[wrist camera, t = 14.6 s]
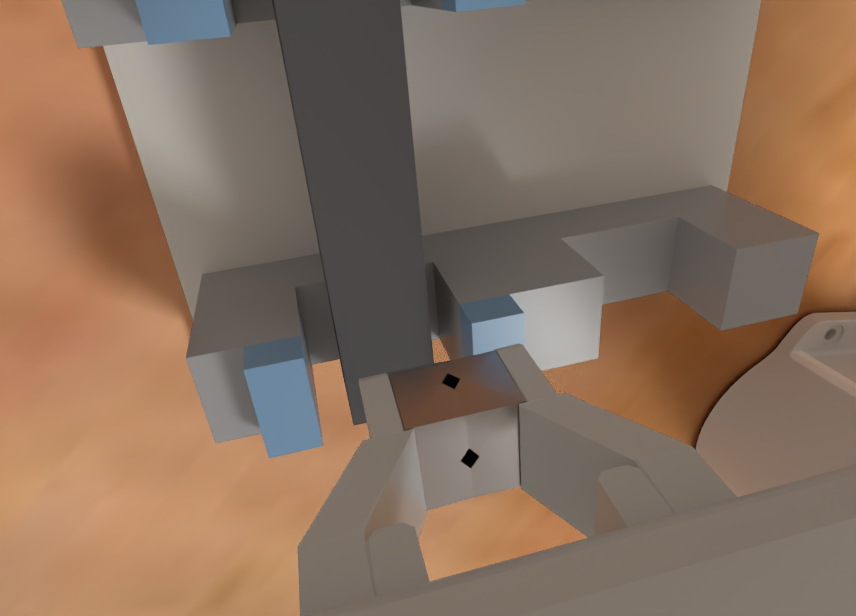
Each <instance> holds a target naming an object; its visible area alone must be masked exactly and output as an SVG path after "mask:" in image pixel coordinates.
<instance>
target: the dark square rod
mask: <svg viewBox="0 0 856 616" xmlns="http://www.w3.org/2000/svg"><path fill="white" fill-rule="evenodd" d="M272 4H273V9H274V14H275V19H276V25H277V30H278V35H279V40H280V46H281V51H282V56H283V62H284V67H285V72H286V77H287V83H288V88H289V93H290V98H291V104H292V109H293V114H294V119H295V125H296V130H297V135H298V141H299V146H300V151H301V156H302V162H303V167H304V172H305V177H306V183H307V188H308V193H309V198H310V204H311V209H312V214H313V220H314V225H315V230H316V235H317V241H318V246H319V251H320V256H321V262H322V267H323V272H324V277H325V283H326V288H327V293H328V299H329V304H330V309H331V314H332V320H333V325H334V330H335V335H336V341H337V346H338V351H339V356H340V362H341V367H342V372H343V377H344V382H345V387H346V391H347V396H348V401H349V405H350V410H351V415H352V419H353V424H354V425H358V424H362V423H367V421H366V416H365V411H364V406H363V401H362V396H361V391H360V386H359V379H360V378H365V377H370V376H374V375H379V374H383V373H386V374H387V373H388V372H393V371H398V370H403V369H408V368H413V367H418V366H423V365H428V364H434V360H433V349H432V338H431V328H430V317H429V306H428V295H427V285H426V274H425V263H424V252H423V242H422V231H421V220H420V210H419V199H418V188H417V177H416V167H415V156H414V145H413V134H412V124H411V113H410V102H409V91H408V81H407V70H406V59H405V49H404V38H403V27H402V16H401V6H400V0H272ZM387 375H388V374H387Z"/></svg>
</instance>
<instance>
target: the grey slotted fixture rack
mask: <svg viewBox="0 0 856 616" xmlns="http://www.w3.org/2000/svg"><path fill="white" fill-rule="evenodd" d="M61 1H62V4H63V6H64V9H65V12H66V15H67V18H68V21H69V24H70V27H71V29H72V32H73V35H74V38H75V41H76V44H77V47H78V49H79V48H88V47H98V46H103V48H104V51H105V54H106V57H107V60H108V63H109V66H110V69H111V72H112V75H113V78H114V81H115V84H116V87H117V90H118V93H119V96H120V99H121V102H122V106H123V109H124V112H125V115H126V118H127V121H128V124H129V127H130V130H131V133H132V136H133V139H134V142H135V145H136V148H137V151H138V154H139V157H140V160H141V163H142V167H143V170H144V173H145V176H146V179H147V182H148V185H149V188H150V191H151V194H152V197H153V200H154V203H155V206H156V209H157V212H158V215H159V218H160V221H161V224H162V228H163V231H164V234H165V237H166V240H167V243H168V246H169V249H170V252H171V255H172V258H173V261H174V264H175V267H176V270H177V273H178V276H179V279H180V282H181V285H182V289H183V292H184V295H185V298H186V301H187V304H188V307H189V310H190V313H191V316H192V319H193V324H192V329H191V334H190V339H189V345H188V350H187V355H186V360H187V363H188V366H189V369H190V371H191V374H192V377H193V380H194V383H195V386H196V389H197V392H198V394H199V397H200V400H201V403H202V406H203V409H204V412H205V415H206V417H207V420H208V423H209V426H210V429H211V432H212V435H213V438H214V440H215V443H221V442H225V441H230V440H234V439H239V438H243V437H248V436H252V435H257V434H261V433H262V436H263V439H264V443H265V446H266V450H267V453H268V456H269V458H273V457H277V456H281V455H286V454H290V453H294V452H298V451H303V450H307V449H311V448H316V447H320V446H323V440H322V433H321V426H320V419H319V412H318V404H317V397H316V390H315V383H314V376H313V369H312V365H313V364H318V363H323V362H327V361H332V360H337V359H340V356H339V351H338V346H337V341H336V335H335V330H334V325H333V320H332V314H331V309H330V304H329V299H328V293H327V288H326V283H325V277H324V272H323V267H322V262H321V256H320V251H319V246H318V241H317V235H316V230H315V225H314V220H313V214H312V209H311V204H310V198H309V193H308V188H307V183H306V177H305V172H304V167H303V162H302V156H301V151H300V146H299V141H298V135H297V130H296V125H295V119H294V114H293V109H292V104H291V98H290V93H289V88H288V83H287V77H286V72H285V67H284V62H283V56H282V51H281V46H280V40H279V35H278V30H277V25H276V19H275V14H274V9H273V4H272V0H61ZM400 6H401V16H402V27H403V38H404V49H405V59H406V70H407V81H408V91H409V102H410V113H411V124H412V134H413V145H414V156H415V167H416V177H417V188H418V199H419V210H420V220H421V231H422V242H423V252H424V263H425V274H426V285H427V295H428V306H429V317H430V328H431V338H432V340H434V339H439V338H440V340H441V342H442V344H443V346H444V348H445V350H446V352H447V354H448V356H449V358H450V360H455V359H459V358H463V357H468V356H472V355H476V354H481V353H485V352H490V351H493V350H494V349H498V348H502V347H506V346H510V345H514V344H518V343H520V344H522V345H524V347H525V348H526V350H527V351H528V353H529V354H530V356H531V357H532V358H533V360H534V361H535V363H536V364H537V366H538V367H539V368H540V370H541V371H543V370H548V369H552V368H557V367H561V366H566V365H570V364H575V363H579V362H584V361H588V360H593V359H597V358H598V352H599V340H600V327H601V314H602V305H604V304H609V303H613V302H618V301H623V300H628V299H633V298H638V297H642V296H647V295H652V294H657V293H662V292H667V291H669V292H670V293H671V294H673V295H674V296H675V297H676V298H678V299H679V300H680V301H682V302H683V303H684V304H686V305H687V306H688V307H690V308H691V309H692V310H694V311H695V312H696V313H698V314H699V315H700V316H702V317H703V318H704V319H706V320H707V321H708V322H710V323H711V324H712V325H714V326H715V327H716V328H718V329H719V330H720V331H723V330H727V329H732V328H736V327H741V326H745V325H750V324H754V323H759V322H763V321H767V320H772V319H776V318H781V317H785V316H790V315H794V314H797V313H798V310H799V306H800V302H801V299H802V295H803V291H804V288H805V284H806V280H807V277H808V273H809V269H810V266H811V262H812V258H813V255H814V251H815V247H816V244H817V240H818V236H819V233H818V232H815V231H813V230H811V229H809V228H806V227H804V226H802V225H800V224H797V223H795V222H793V221H791V220H789V219H786V218H784V217H782V216H780V215H777V214H775V213H773V212H771V211H768V210H766V209H764V208H762V207H760V206H757V205H755V204H753V203H751V202H748V201H746V200H744V199H742V198H739V197H737V196H735V195H733V194H730V193H728V192H727V189H728V183H729V178H730V172H731V167H732V161H733V156H734V150H735V144H736V139H737V133H738V128H739V122H740V117H741V111H742V106H743V100H744V95H745V89H746V83H747V78H748V72H749V67H750V61H751V56H752V50H753V45H754V39H755V34H756V28H757V23H758V17H759V11H760V6H761V0H400Z"/></svg>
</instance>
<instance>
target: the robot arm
mask: <svg viewBox="0 0 856 616" xmlns="http://www.w3.org/2000/svg"><path fill="white" fill-rule="evenodd" d="M387 374H388V375H387ZM387 374H386V373H383V374H379V375H374V376H370V377H365V378H360V379H359V386H360V391H361V396H362V401H363V406H364V411H365V416H366V421H367V426H368V431H369V436H370V439H368V440H364V441H362V443H361V444H360V446H359V448H358V449H357V451H356V453H355V454H354V456H353V457H352V459H351V461H350V462H349V464H348V466H347V467H346V469H345V470H344V472H343V474H342V475H341V477H340V479H339V480H338V482H337V484H336V485H335V487H334V488H333V490H332V492H331V493H330V495H329V497H328V498H327V500H326V501H325V503H324V505H323V506H322V508H321V510H320V511H319V513H318V515H317V516H316V518H315V519H314V521H313V523H312V524H311V526H310V528H309V529H308V531H307V532H306V534H305V536H304V537H303V539H302V541H301V542H300V544H299V546H298V568H299V595H300V616H856V312H826V313H812V314H809V315H807V316H805V317H804V318H802V319H801V320H800V321H799V322H798V323H797V324H796V325H795V326H794V327H793V328H792V329H791V330H790V332H789V333H788V334H787V335H786V336H785V338H784V339H783V340H782V341H781V343H780V344H779V345H778V347H777V348H776V349H775V350H774V351H773V352H772V353H771V354H770V355H768V356H767V357H766V358H765V359H764V360H762V361H761V362H760V363H758V364H757V365H756V366H754V367H753V368H752V369H750V370H749V371H748V372H747V373H745V374H744V375H743V376H742V377H741V378H740V379H739V380H737V381H736V382H735V383H734V384H733V385H732V386H731V387H730V388H729V390H728V391H727V392H726V393H725V394H724V395H723V396H722V398H721V399H720V400H719V401H718V403H717V404H716V405H715V407H714V408H713V410H712V411H711V413H710V414H709V416H708V418H707V419H706V421H705V423H704V425H703V427H702V430H701V432H700V435H699V438H698V441H697V445H696V450H695V449H694V448H693V447H692V446H690V445H688V444H685V443H683V442H681V441H678V440H676V439H673V438H671V437H669V436H666V435H664V434H662V433H659V432H657V431H654V430H652V429H650V428H647V427H645V426H642V425H640V424H638V423H635V422H633V421H631V420H628V419H626V418H623V417H621V416H619V415H616V414H614V413H611V412H609V411H607V410H604V409H602V408H600V407H597V406H595V405H592V404H590V403H588V402H585V401H583V400H581V399H578V398H576V397H573V396H571V395H569V394H566V393H564V394H560V395H558V394H557V393H556V391H555V390H554V389H553V387H552V386H551V384H550V383H549V381H548V380H547V379H546V377H545V376H544V374H543V373H542V371H541V370H540V368H539V367H538V366H537V364H536V363H535V361H534V360H533V358H532V357H531V356H530V354H529V353H528V351H527V350H526V348H525V347H524V345H522V344H520V343H518V344H514V345H510V346H506V347H502V348H498V349H494V350H493V351H490V352H485V353H481V354H476V355H472V356H468V357H463V358H459V359H455V360H450V361H446V362H439V363H434V364H428V365H423V366H418V367H413V368H408V369H403V370H398V371H393V372H388V373H387ZM517 487H521V489H522V490H524V491H525V492H526V493H528V494H529V495H530V496H532V497H533V498H535V499H536V500H537V501H539V502H540V503H541V504H543V505H544V506H546V507H547V508H548V509H550V510H551V511H552V512H554V513H555V514H557V515H558V516H559V517H561V518H562V519H564V520H565V521H566V522H568V523H569V524H570V525H572V526H573V527H575V528H576V529H577V530H579V531H580V532H581V533H583V534H584V535H586V536H587V537H588V538H586V539H582V540H579V541H575V542H572V543H568V544H564V545H561V546H557V547H553V548H550V549H546V550H542V551H539V552H535V553H532V554H528V555H524V556H521V557H517V558H513V559H510V560H506V561H502V562H499V563H495V564H492V565H488V566H484V567H481V568H477V569H473V570H470V571H466V572H462V573H459V574H455V575H452V576H448V577H444V578H441V579H437V580H433V581H430V582H429V578H428V574H427V571H426V567H425V563H424V560H423V556H422V552H421V549H420V545H419V541H418V539H419V536H420V533H421V530H422V527H423V524H424V521H425V518H426V515H427V511H428V510H431V509H435V508H438V507H442V506H445V505H449V504H452V503H456V502H459V501H463V500H466V499H470V498H473V497H478V496H482V495H486V494H491V493H495V492H500V491H504V490H508V489H513V488H517Z"/></svg>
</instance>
